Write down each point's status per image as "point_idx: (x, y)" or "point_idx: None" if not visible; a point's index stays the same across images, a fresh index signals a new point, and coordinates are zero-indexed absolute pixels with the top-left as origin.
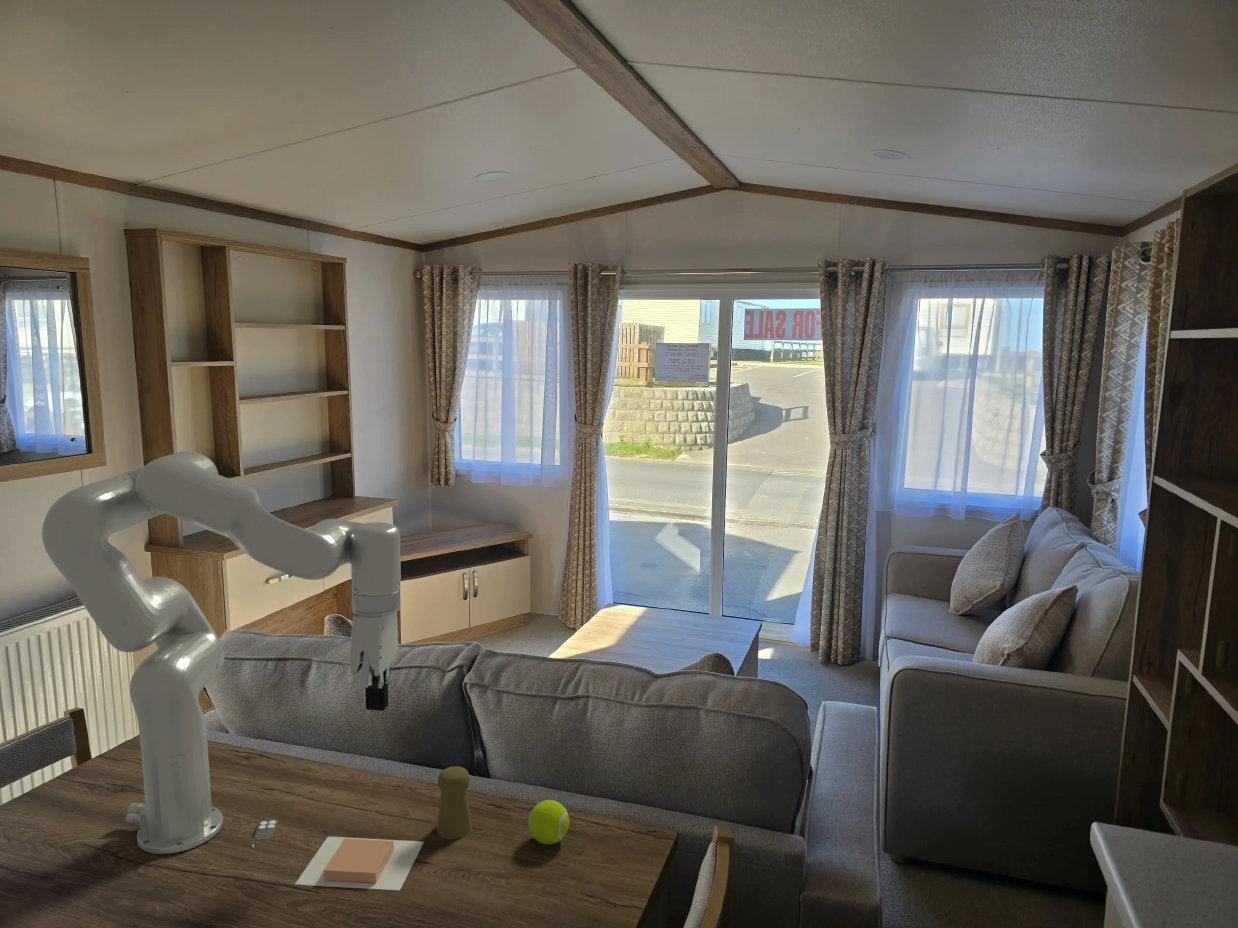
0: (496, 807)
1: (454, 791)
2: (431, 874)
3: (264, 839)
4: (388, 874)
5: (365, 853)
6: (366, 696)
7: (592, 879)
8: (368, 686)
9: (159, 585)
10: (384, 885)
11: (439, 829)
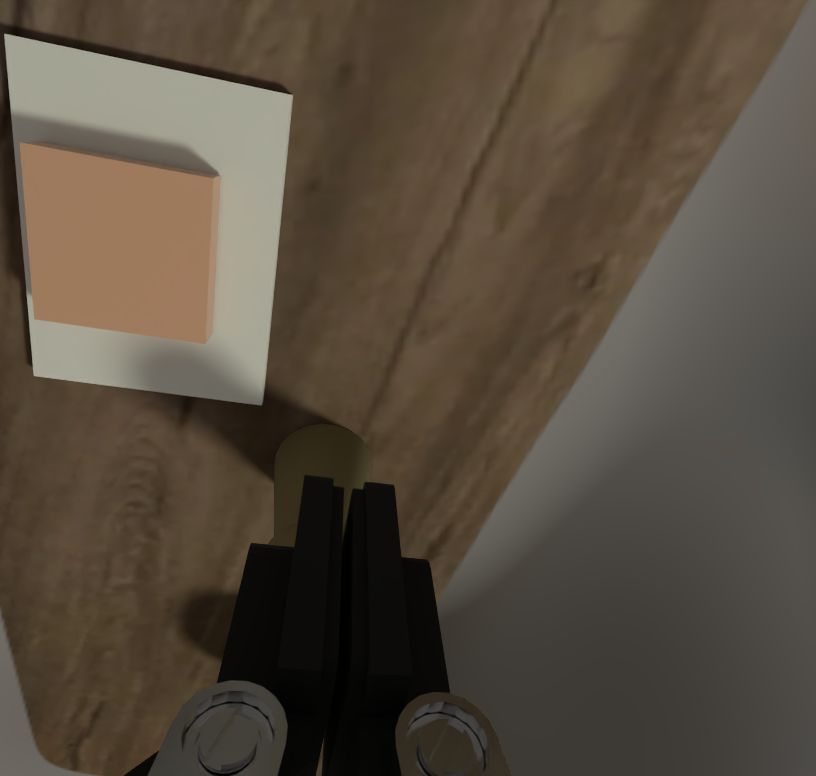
0: (428, 546)
1: None
2: (132, 434)
3: None
4: (100, 334)
5: (132, 268)
6: (292, 565)
7: (148, 715)
8: (149, 765)
9: None
10: (47, 332)
11: (292, 448)
